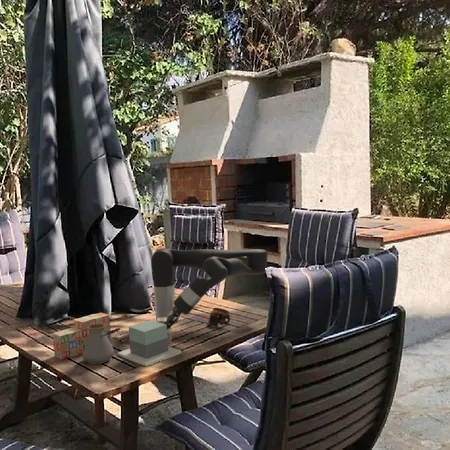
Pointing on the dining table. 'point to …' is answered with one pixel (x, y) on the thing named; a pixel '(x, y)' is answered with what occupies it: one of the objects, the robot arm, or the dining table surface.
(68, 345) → the stack of blocks
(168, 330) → the cream brick
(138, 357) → the tower base
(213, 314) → the brown toy animal
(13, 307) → the dining table surface
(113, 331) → the coffee pot
